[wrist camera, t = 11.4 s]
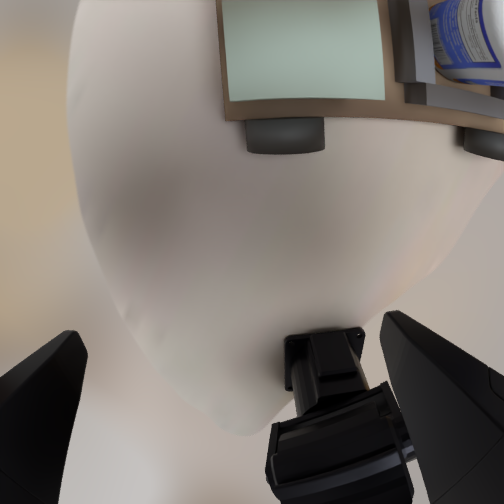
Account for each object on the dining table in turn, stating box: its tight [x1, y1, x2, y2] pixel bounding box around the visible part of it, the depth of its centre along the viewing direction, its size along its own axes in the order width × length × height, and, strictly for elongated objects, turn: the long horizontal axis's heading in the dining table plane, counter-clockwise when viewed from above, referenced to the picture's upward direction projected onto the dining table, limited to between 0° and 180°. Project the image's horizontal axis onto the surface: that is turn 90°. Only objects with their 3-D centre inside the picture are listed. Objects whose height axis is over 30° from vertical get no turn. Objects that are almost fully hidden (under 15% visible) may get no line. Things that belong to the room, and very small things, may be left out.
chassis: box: [216, 0, 504, 161], centre depth 11 cm, size 14×20×6 cm
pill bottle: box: [429, 0, 504, 87], centre depth 9 cm, size 5×5×10 cm
